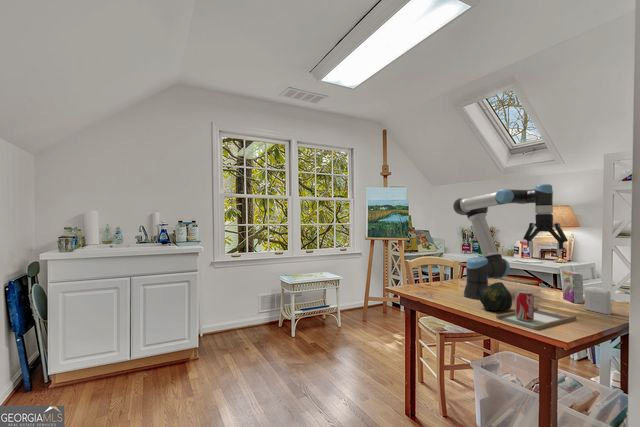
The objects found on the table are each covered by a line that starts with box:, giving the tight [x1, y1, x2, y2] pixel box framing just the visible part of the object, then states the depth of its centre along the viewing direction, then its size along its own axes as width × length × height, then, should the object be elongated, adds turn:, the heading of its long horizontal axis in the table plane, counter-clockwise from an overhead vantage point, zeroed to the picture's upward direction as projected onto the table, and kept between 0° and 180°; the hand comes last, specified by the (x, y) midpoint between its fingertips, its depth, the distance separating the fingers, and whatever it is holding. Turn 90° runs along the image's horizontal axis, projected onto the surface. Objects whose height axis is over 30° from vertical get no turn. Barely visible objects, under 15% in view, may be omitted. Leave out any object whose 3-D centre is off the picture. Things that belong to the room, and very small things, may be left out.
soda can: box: [514, 289, 535, 322], centre depth 146 cm, size 7×7×13 cm
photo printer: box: [584, 286, 612, 316], centre depth 158 cm, size 10×4×12 cm, turn 25°
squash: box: [479, 281, 513, 312], centre depth 164 cm, size 14×15×15 cm
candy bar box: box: [561, 270, 584, 305], centre depth 179 cm, size 11×5×16 cm, turn 168°
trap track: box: [495, 306, 577, 331], centre depth 147 cm, size 18×31×2 cm, turn 116°
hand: (544, 254), depth 165 cm, fingers open, 13 cm apart
